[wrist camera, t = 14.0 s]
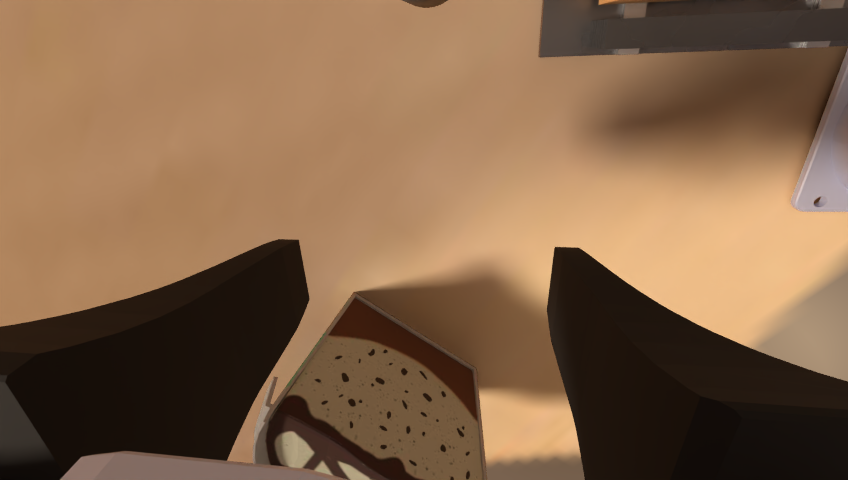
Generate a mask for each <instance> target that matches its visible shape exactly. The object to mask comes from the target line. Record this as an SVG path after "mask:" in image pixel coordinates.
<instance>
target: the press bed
mask: <svg viewBox="0 0 848 480" xmlns="http://www.w3.org/2000/svg"><path fill="white" fill-rule="evenodd" d="M830 46H848V0H683V1H664V2H644V3H625V4H606V5H599V0H543V4H542V17H541V30H540V44H539V57H560V56H587V55H614V54H615V55H628V54H641V53H668V52H695V51H722V50H749V49H776V48H818V47H830Z"/></svg>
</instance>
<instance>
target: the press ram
mask: <svg viewBox="0 0 848 480" xmlns="http://www.w3.org/2000/svg"><path fill="white" fill-rule="evenodd" d="M403 1H405V2H407V3H410V4H412V5H415V6H418V7H423V8H430V7H435V6H438V5H441V4H443V3H444V2H446V1H448V0H403ZM664 1H683V0H599V5H606V4H625V3H644V2H664Z"/></svg>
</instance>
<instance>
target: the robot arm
mask: <svg viewBox="0 0 848 480" xmlns="http://www.w3.org/2000/svg"><path fill="white" fill-rule="evenodd" d="M818 197H821V199H820V200H819V202H817V203H815V204H814V201H815V200H816V199H817V198H818ZM791 205H792V207H794V208H795V209H797V210H799V211H806V212H848V49H847V52H846V54H845V57H844V60H843V62H842V65H841V68H840V70H839V73H838V76H837V78H836V81H835V84H834V86H833V89H832V92H831V94H830V97H829V100H828V102H827V105H826V108H825V110H824V113H823V116H822V118H821V121H820V124H819V126H818V129H817V132H816V134H815V137H814V140H813V142H812V145H811V148H810V150H809V153H808V156H807V158H806V161H805V164H804V166H803V169H802V171H801V174H800V177H799V179H798V182H797V185H796V187H795V190H794V193H793V195H792V198H791ZM308 302H309V293H308V288H307V283H306V277H305V272H304V266H303V261H302V255H301V250H300V245H299V240H284V239H278V240H275V241H271V242H269V243H266V244H263V245H261V246H259V247H256V248H254V249H252V250H249V251H247V252H245V253H243V254H240V255H238V256H236V257H234V258H232V259H229V260H227V261H225V262H223V263H221V264H218V265H216V266H214V267H211V268H209V269H207V270H204V271H202V272H199V273H197V274H195V275H192V276H190V277H187V278H185V279H183V280H180V281H178V282H175V283H172V284H170V285H167V286H164V287H161V288H159V289H156V290H153V291H150V292H147V293H144V294H141V295H137V296H134V297H131V298H128V299H124V300H120V301H117V302H113V303H109V304H106V305H102V306H98V307H95V308H91V309H87V310H83V311H79V312H74V313H70V314H66V315H61V316H57V317H52V318H47V319H42V320H37V321H32V322H26V323H21V324H15V325H9V326H3V327H0V480H347V479H343V478H340V477H336V476H332V475H329V474H325V473H321V472H317V471H314V470H310V469H304V468H294V467H284V466H274V465H264V464H254V463H243V462H233V461H227V459H228V457H229V454H230V452H231V450H232V447H233V445H234V443H235V440H236V438H237V436H238V434H239V432H240V429H241V427H242V425H243V423H244V421H245V419H246V417H247V415H248V412H249V410H250V408H251V406H252V404H253V402H254V400H255V398H256V397H257V395H258V393H259V391H260V389H261V388H262V386H263V384H264V383H265V381H266V380H267V378H268V376H269V375H270V373H271V371H272V370H273V368H274V366H275V365H276V363H277V362H278V360H279V358H280V357H281V355H282V353H283V352H284V350H285V348H286V347H287V345H288V343H289V342H290V340H291V338H292V337H293V335H294V333H295V331H296V330H297V328H298V326H299V324H300V321H301V319H302V317H303V315H304V312H305V309H306V307H307V304H308ZM547 314H548V322H549V329H550V336H551V342H552V345H553V349H554V352H555V356H556V359H557V363H558V366H559V370H560V373H561V377H562V380H563V383H564V387H565V390H566V394H567V397H568V400H569V404H570V407H571V411H572V414H573V418H574V422H575V427H576V431H577V437H578V442H579V448H580V453H581V459H582V464H583V470H584V477H585V480H848V382H847V381H844V380H841V379H837V378H834V377H830V376H827V375H824V374H820V373H817V372H814V371H811V370H808V369H805V368H803V367H800V366H797V365H794V364H791V363H789V362H786V361H783V360H780V359H777V358H774V357H772V356H769V355H766V354H764V353H761V352H759V351H756V350H754V349H751V348H749V347H746V346H744V345H741V344H739V343H737V342H735V341H732V340H730V339H728V338H725V337H723V336H721V335H718V334H716V333H714V332H712V331H710V330H708V329H705V328H703V327H701V326H699V325H697V324H695V323H693V322H691V321H690V320H688V319H686V318H684V317H682V316H680V315H678V314H676V313H674V312H673V311H671V310H669V309H667V308H665V307H664V306H662V305H660V304H659V303H657V302H655V301H654V300H652V299H651V298H649V297H648V296H646V295H644V294H643V293H641V292H640V291H638V290H637V289H635V288H634V287H632V286H631V285H629V284H628V283H626V282H625V281H624V280H622V279H621V278H619V277H618V276H617V275H615V274H614V273H613V272H611V271H610V270H608V269H607V268H606V267H604V266H603V265H602V264H601V263H599V262H598V261H597V260H595V259H594V258H593V257H591V256H590V255H589V254H587V253H586V252H584V251H583V250H581V249H580V248H569V247H555V249H554V257H553V265H552V273H551V281H550V289H549V297H548V305H547Z"/></svg>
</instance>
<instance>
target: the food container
mask: <svg viewBox="0 0 848 480" xmlns="http://www.w3.org/2000/svg"><path fill="white" fill-rule="evenodd" d="M277 378H278V377H274V378H273V380H272V381H271V383H270V385H269V387H268V389H267V392H266V395H265V398H264V401H263V404H262V407H261V410H260V414H259V417H258V420H257V424H256V427H255V431H254V445H253V463H254V464H264V465H274V466H284V467H294V468H304V469H310V470H314V471H317V472H321V473H325V474H329V475H332V476H336V477H340V478H343V479H347V480H487V472H486V461H485V451H484V441H483V430H482V420H481V410H480V400H479V389H478V379H477V369H476V368H475V367H473V366H471V365H470V364H468V363H467V362H465V361H463V360H462V359H460V358H459V357H457V356H455V355H454V354H452V353H451V352H449V351H447V350H446V349H444V348H443V347H441V346H439V345H438V344H436V343H435V342H433V341H431V340H430V339H428V338H427V337H425V336H423V335H422V334H420V333H419V332H417V331H415V330H414V329H412V328H411V327H409V326H407V325H406V324H404V323H403V322H401V321H399V320H398V319H396V318H395V317H393V316H391V315H390V314H388V313H387V312H385V311H383V310H382V309H380V308H379V307H377V306H375V305H374V304H372V303H371V302H369V301H367V300H366V299H364V298H363V297H361V296H359V295H358V294H356V293H355V292H354V293H353V294H352V295H351V297H350V298H349V299H348V301H347V302H346V304H345V305H344V306H343V308H342V309H341V311H340V312H339V313H338V315H337V316H336V318H335V319H334V320H333V322H332V323H331V325H330V326H329V327H328V329H327V330H326V331H325V333H324V334H323V336H322V337H321V338H320V340H319V341H318V343H317V344H316V345H315V347H314V348H313V350H312V351H311V352H310V354H309V355H308V357H307V358H306V359H305V361H304V362H303V363H302V365H301V366H300V368H299V369H298V370H297V372H296V373H295V375H294V376H293V377H292V379H291V380H290V382H289V383H288V384H287V386H286V387H285V389H284V390H283V391H282V393H281V394H280V396H279V397H278V398H277V400H276V401H275V402H274V404H273V405H272V404H270V402H271V399H272V395H273V392H274V389H275V385H276V382H277Z"/></svg>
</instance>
